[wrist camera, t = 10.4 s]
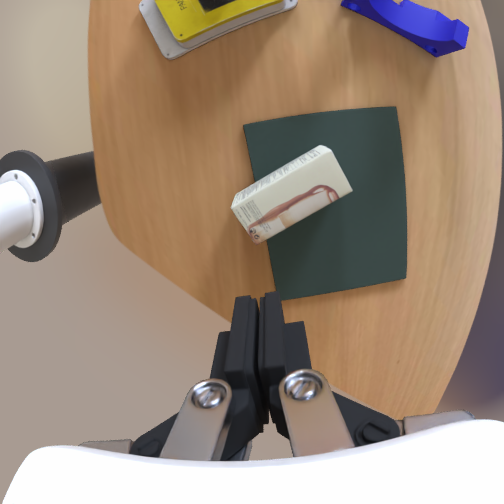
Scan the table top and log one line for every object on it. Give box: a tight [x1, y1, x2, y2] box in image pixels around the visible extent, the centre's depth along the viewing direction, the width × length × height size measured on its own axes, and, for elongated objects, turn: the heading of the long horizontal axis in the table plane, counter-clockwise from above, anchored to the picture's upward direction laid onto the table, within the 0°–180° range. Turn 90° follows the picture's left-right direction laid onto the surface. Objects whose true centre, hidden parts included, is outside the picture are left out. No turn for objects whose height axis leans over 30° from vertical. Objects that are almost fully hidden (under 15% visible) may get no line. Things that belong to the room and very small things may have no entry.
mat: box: [243, 107, 407, 301], centre depth 30 cm, size 16×20×1 cm
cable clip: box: [341, 0, 469, 57], centre depth 18 cm, size 12×4×6 cm, turn 70°
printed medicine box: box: [231, 145, 353, 245], centre depth 27 cm, size 5×4×10 cm
